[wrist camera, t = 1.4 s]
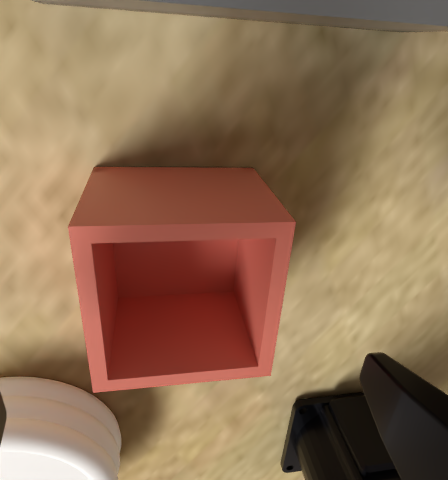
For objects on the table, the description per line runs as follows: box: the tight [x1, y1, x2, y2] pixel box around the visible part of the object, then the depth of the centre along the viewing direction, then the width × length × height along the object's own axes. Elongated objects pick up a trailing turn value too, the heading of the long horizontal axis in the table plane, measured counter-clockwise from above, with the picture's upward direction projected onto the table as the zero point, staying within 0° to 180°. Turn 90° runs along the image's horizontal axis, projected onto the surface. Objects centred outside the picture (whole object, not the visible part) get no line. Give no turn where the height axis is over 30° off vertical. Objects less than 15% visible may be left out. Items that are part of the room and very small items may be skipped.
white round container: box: [0, 377, 121, 480], centre depth 18 cm, size 10×10×4 cm
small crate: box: [68, 167, 296, 393], centre depth 13 cm, size 6×6×5 cm
